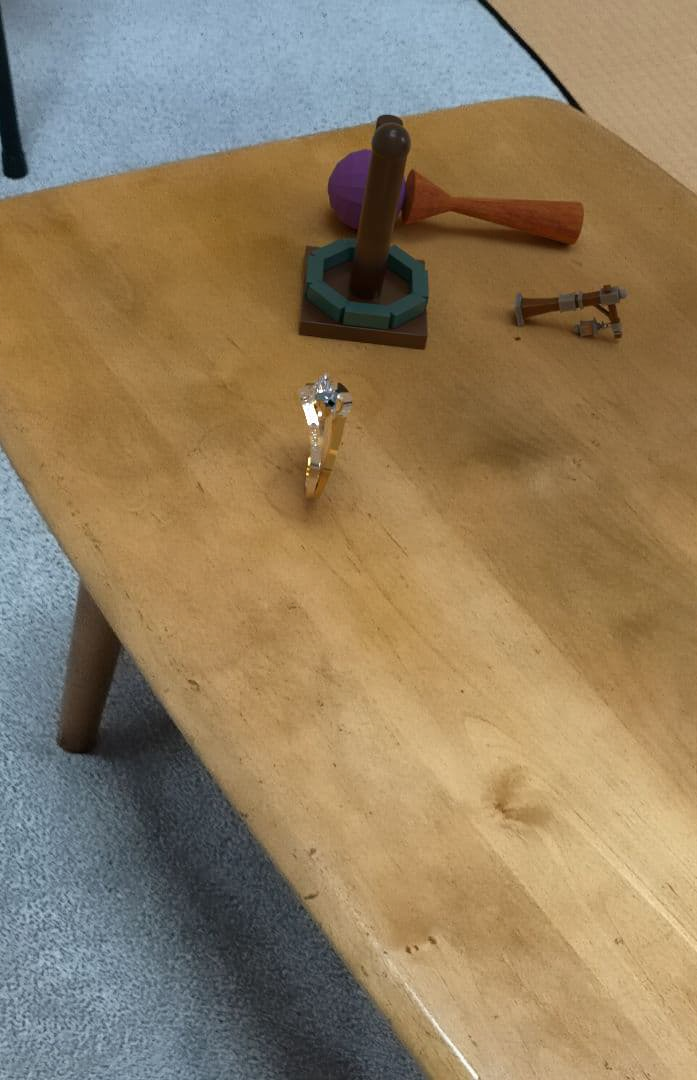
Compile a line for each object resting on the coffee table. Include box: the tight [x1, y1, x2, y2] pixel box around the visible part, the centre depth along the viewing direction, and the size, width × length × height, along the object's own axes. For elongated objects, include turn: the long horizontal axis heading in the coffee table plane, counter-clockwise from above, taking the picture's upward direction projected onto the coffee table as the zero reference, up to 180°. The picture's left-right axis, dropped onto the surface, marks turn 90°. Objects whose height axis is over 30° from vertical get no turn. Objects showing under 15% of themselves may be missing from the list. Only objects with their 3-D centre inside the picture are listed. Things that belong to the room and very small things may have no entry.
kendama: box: [327, 148, 585, 246], centre depth 96 cm, size 6×6×20 cm
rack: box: [298, 123, 428, 350], centre depth 85 cm, size 9×9×14 cm
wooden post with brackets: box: [513, 284, 629, 340], centre depth 91 cm, size 2×8×4 cm, turn 79°
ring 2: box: [305, 114, 430, 330], centre depth 86 cm, size 9×9×11 cm
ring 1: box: [298, 371, 354, 500], centre depth 75 cm, size 7×3×8 cm, turn 176°
